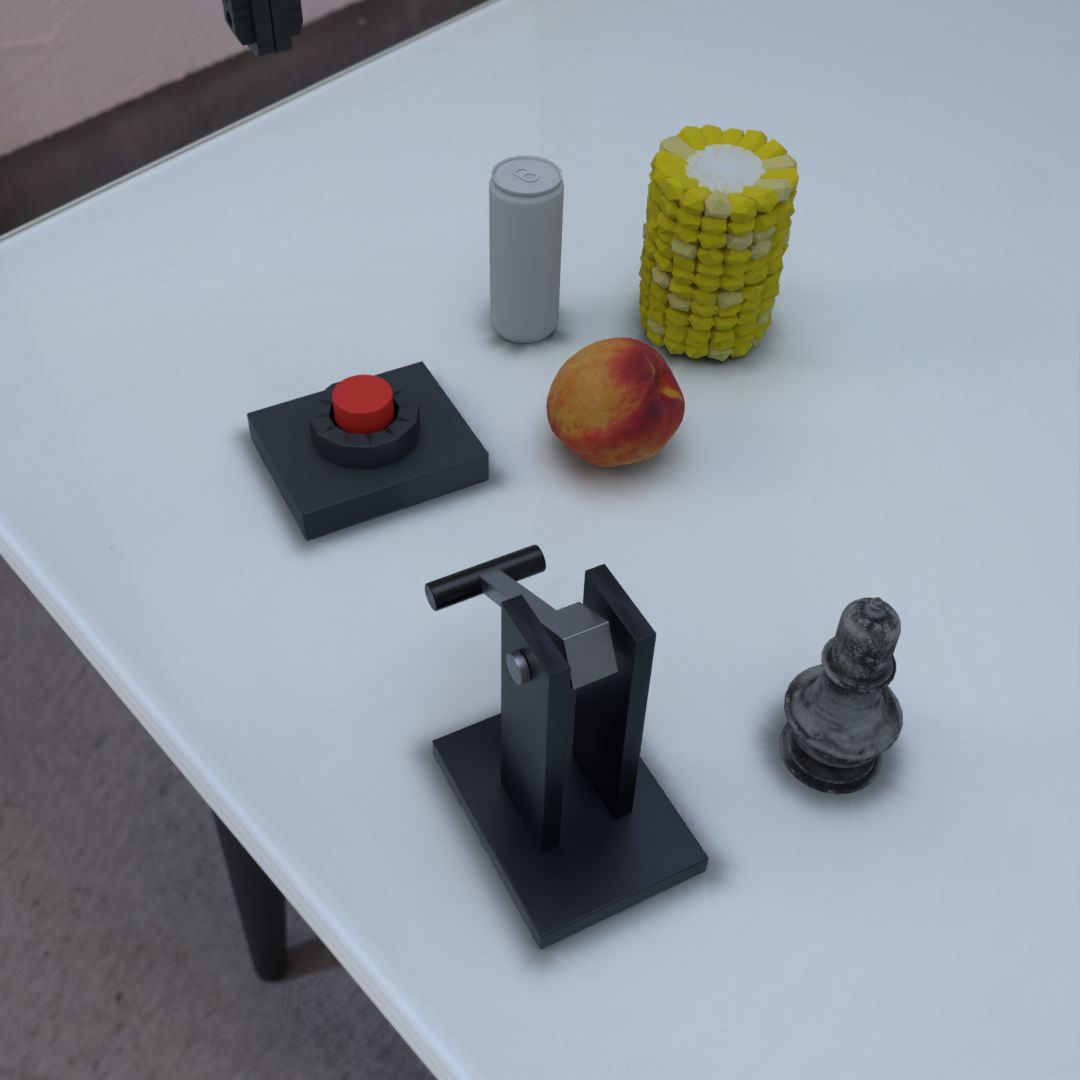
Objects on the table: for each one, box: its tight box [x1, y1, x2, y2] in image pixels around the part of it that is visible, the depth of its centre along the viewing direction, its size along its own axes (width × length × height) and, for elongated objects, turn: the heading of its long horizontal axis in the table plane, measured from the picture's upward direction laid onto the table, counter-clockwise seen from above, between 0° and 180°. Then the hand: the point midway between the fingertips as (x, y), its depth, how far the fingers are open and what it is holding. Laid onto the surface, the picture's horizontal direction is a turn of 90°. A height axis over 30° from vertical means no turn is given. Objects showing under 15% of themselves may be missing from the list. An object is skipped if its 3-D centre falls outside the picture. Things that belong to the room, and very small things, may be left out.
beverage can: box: [488, 154, 565, 344], centre depth 88 cm, size 5×5×12 cm
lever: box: [424, 544, 618, 690], centre depth 60 cm, size 12×6×2 cm, turn 28°
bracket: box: [431, 563, 710, 950], centre depth 60 cm, size 12×9×15 cm
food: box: [638, 123, 800, 362], centre depth 87 cm, size 15×12×10 cm
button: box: [332, 374, 394, 434], centre depth 79 cm, size 4×4×2 cm
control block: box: [246, 360, 490, 541], centre depth 81 cm, size 12×10×4 cm
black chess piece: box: [779, 596, 904, 795], centre depth 64 cm, size 6×6×12 cm
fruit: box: [545, 336, 686, 468], centre depth 80 cm, size 8×8×8 cm
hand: (266, 46), depth 54 cm, fingers closed
